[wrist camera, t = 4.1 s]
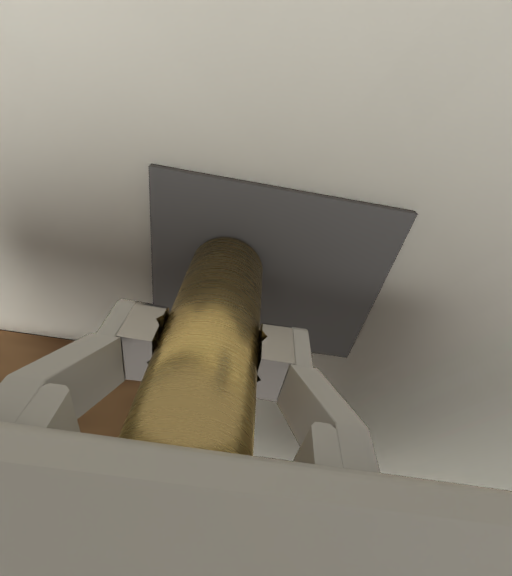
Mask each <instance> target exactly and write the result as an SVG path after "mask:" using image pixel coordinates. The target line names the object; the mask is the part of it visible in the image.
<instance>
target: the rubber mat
mask: <svg viewBox="0 0 512 576" xmlns="http://www.w3.org/2000/svg"><path fill="white" fill-rule="evenodd" d="M149 191H150V221H151V252H152V283H153V304H155V305H160V306H166V307H168V308H169V314H170V311H171V309H172V306H173V304H174V302H175V299H176V297H177V294H178V292H179V290H180V287H181V285H182V282H183V280H184V278H185V275H186V273H187V270H188V268H189V266H190V263H191V261H192V258H193V256H194V254H195V252H196V251H197V249H198V248H199V247H200V246H201V245H202V244H204V243H205V242H207V241H209V240H211V239H214V238H220V237H229V238H235V239H238V240H241V241H243V242H245V243H247V244H248V245H249V246H251V247H252V248H253V249H254V250H255V251H256V252H257V254H258V255H259V257H260V259H261V262H262V267H263V273H262V293H261V312H260V327H261V324H262V323H269V324H275V325H281V326H288V327H296V328H303V329H307V330H308V334H309V341H310V348H311V352H312V353H319V354H326V355H332V356H339V357H346V358H347V357H348V355H349V353H350V350H351V348H352V346H353V344H354V342H355V340H356V338H357V336H358V334H359V332H360V330H361V328H362V326H363V324H364V322H365V320H366V318H367V316H368V314H369V312H370V310H371V308H372V306H373V304H374V302H375V300H376V298H377V296H378V294H379V292H380V290H381V287H382V285H383V283H384V281H385V279H386V277H387V275H388V273H389V271H390V269H391V267H392V265H393V263H394V261H395V259H396V257H397V255H398V253H399V251H400V249H401V247H402V245H403V243H404V241H405V239H406V237H407V235H408V233H409V231H410V229H411V227H412V224H413V222H414V220H415V218H416V216H417V213H416V212H415V211H411V210H405V209H400V208H394V207H389V206H383V205H377V204H372V203H366V202H361V201H355V200H350V199H344V198H338V197H333V196H327V195H322V194H316V193H311V192H305V191H299V190H294V189H288V188H283V187H277V186H272V185H266V184H260V183H255V182H249V181H244V180H238V179H233V178H227V177H221V176H216V175H210V174H205V173H199V172H193V171H188V170H182V169H177V168H171V167H166V166H160V165H154V164H151V165H149Z"/></svg>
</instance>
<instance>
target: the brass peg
mask: <svg viewBox="0 0 512 576" xmlns="http://www.w3.org/2000/svg"><path fill="white" fill-rule="evenodd" d="M262 273H263V267H262V262H261V259H260V257H259V255H258V254H257V252H256V251H255V250H254V249H253V248H252V247H251V246H249V245H248V244H247V243H245V242H243V241H241V240H238V239H235V238H229V237H220V238H214V239H211V240H209V241H207V242H205V243H204V244H202V245H201V246H200V247H199V248H198V249H197V251H196V252H195V254H194V256H193V258H192V261H191V263H190V266H189V268H188V270H187V273H186V275H185V278H184V280H183V282H182V285H181V287H180V290H179V292H178V294H177V297H176V299H175V302H174V304H173V306H172V309H171V311H170V314H169V316H168V318H167V321H166V323H165V326H164V328H163V331H162V333H161V335H160V338H159V340H158V343H157V345H156V347H155V350H154V352H153V355H152V357H151V359H150V362H149V364H148V367H147V369H146V371H145V374H144V376H143V379H142V381H141V383H140V386H139V388H138V391H137V393H136V395H135V398H134V400H133V403H132V405H131V407H130V410H129V412H128V415H127V417H126V419H125V422H124V424H123V427H122V429H121V431H120V434H119V436H118V438H126V439H133V440H140V441H148V442H155V443H162V444H170V445H177V446H184V447H192V448H199V449H206V450H214V451H221V452H229V453H236V454H243V455H251V456H253V446H254V427H255V407H256V388H257V368H258V350H259V330H260V312H261V293H262Z"/></svg>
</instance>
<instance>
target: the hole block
mask: <svg viewBox="0 0 512 576" xmlns="http://www.w3.org/2000/svg"><path fill="white" fill-rule="evenodd" d="M72 342H74V340H67V339H60V338H52V337H45V336H38V335H31V334H24V333H17V332H10V331H3V330H0V383H1V382H2V380H3V379H4V378H5V377H6V376H7V375H8V374H10V373H12V372H14V371H16V370H18V369H20V368H22V367H24V366H26V365H28V364H30V363H32V362H34V361H36V360H38V359H40V358H42V357H44V356H46V355H48V354H50V353H52V352H54V351H56V350H58V349H60V348H62V347H64V346H66V345H68V344H70V343H72ZM140 383H141V381H135V380H127V379H125V381H124V382H123V383H121V384H120V385H119V386H118V387H117V388H115V389H114V390H113V391H112V392H110V393H109V394H108V395H107V396H105V397H104V398H103V399H102V400H101V401H99V402H98V403H97V404H96V405H94V406H93V407H92V408H91V409H89V410H88V411H87V412H86V413H85V414H83V415H82V416H81V417H80V418H78V419H77V421H78V425H79V428H80V432H82V433H89V434H96V435H104V436H111V437H118V436H119V434H120V431H121V429H122V427H123V424H124V422H125V419H126V417H127V415H128V412H129V410H130V407H131V405H132V403H133V400H134V398H135V395H136V393H137V391H138V388H139V386H140Z"/></svg>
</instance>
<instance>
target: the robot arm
mask: <svg viewBox="0 0 512 576" xmlns="http://www.w3.org/2000/svg"><path fill="white" fill-rule="evenodd" d="M168 316H169V308H168V307H166V306H160V305H155V304H150V303H144V302H139V301H132V300H127V299H120V300H118V301H117V303H116V304H115V306H114V307H113V309H112V310H111V312H110V313H109V315H108V316H107V318H106V319H105V321H104V322H103V324H102V325H101V327H100V328H99V330H98V331H97V333H90V334H88V335H86V336H84V337H82V338H80V339H78V340H76V341H74V342H72V343H70V344H68V345H66V346H64V347H62V348H60V349H58V350H56V351H54V352H52V353H50V354H48V355H46V356H44V357H42V358H40V359H38V360H36V361H34V362H32V363H30V364H28V365H26V366H24V367H22V368H20V369H18V370H16V371H14V372H12V373H10V374H8V375H7V376H6V377H5V378H4V379H3V380H2V382H1V383H0V576H512V491H508V490H501V489H494V488H486V487H479V486H472V485H464V484H457V483H450V482H442V481H435V480H428V479H420V478H413V477H406V476H398V475H391V474H384V473H380V469H379V466H378V462H377V458H376V454H375V450H374V446H373V443H372V439H371V435H370V431H369V428H368V427H367V426H366V425H365V423H364V422H363V421H362V420H361V419H360V418H359V416H358V415H357V414H356V413H355V412H354V410H353V409H352V408H351V407H350V406H349V405H348V403H347V402H346V401H345V400H344V399H343V398H342V396H341V395H340V394H339V393H338V392H337V391H336V389H335V388H334V387H333V386H332V385H331V383H330V382H329V381H328V380H327V379H326V378H325V376H324V375H323V374H322V373H321V372H320V371H319V369H318V368H313V363H312V356H311V348H310V341H309V334H308V330H307V329H303V328H296V327H288V326H281V325H275V324H269V323H262V324H261V327H260V330H259V350H258V368H257V388H256V398H258V399H264V400H269V401H275V402H277V405H278V407H279V409H280V410H281V412H282V414H283V416H284V418H285V420H286V421H287V423H288V425H289V427H290V429H291V431H292V432H293V434H294V436H295V438H296V440H297V442H298V443H299V445H300V449H299V450H298V452H297V454H296V456H295V458H294V460H293V461H288V460H280V459H273V458H266V457H258V456H251V455H243V454H236V453H229V452H221V451H214V450H206V449H199V448H192V447H184V446H177V445H170V444H162V443H155V442H148V441H140V440H133V439H126V438H118V437H111V436H104V435H96V434H89V433H82V432H80V428H79V425H78V421H77V419H78V418H80V417H81V416H82V415H83V414H85V413H86V412H87V411H88V410H89V409H91V408H92V407H93V406H94V405H96V404H97V403H98V402H99V401H101V400H102V399H103V398H104V397H105V396H107V395H108V394H109V393H110V392H112V391H113V390H114V389H115V388H117V387H118V386H119V385H120V384H121V383H123V382H124V381H125V379H127V380H135V381H142V379H143V376H144V374H145V371H146V369H147V367H148V364H149V362H150V359H151V357H152V355H153V352H154V350H155V347H156V345H157V343H158V340H159V338H160V335H161V333H162V331H163V328H164V326H165V323H166V321H167V318H168Z"/></svg>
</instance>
